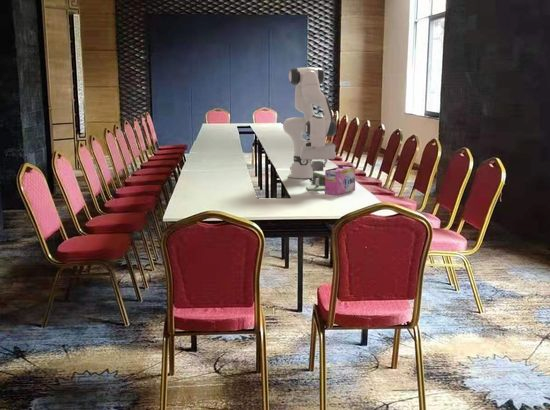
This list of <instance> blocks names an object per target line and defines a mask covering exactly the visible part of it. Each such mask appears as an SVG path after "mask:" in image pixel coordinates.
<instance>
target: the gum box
mask: <svg viewBox="0 0 550 410" xmlns="http://www.w3.org/2000/svg"><path fill="white" fill-rule="evenodd" d="M324 175H325V191H324V195H329V194H330V195H332V196H338V195H341V194H345V193H349V192H352V191H355V190H356V166H352V167H351V166H347V165H340V166H337V167H334V168H328V169H325V171H324ZM330 195H329V196H330Z"/></svg>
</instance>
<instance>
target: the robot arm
mask: <svg viewBox="0 0 550 410" xmlns="http://www.w3.org/2000/svg"><path fill="white" fill-rule="evenodd" d="M324 79H325V72H324V70H323V68H321V67H313V66H312V67H310V66H306V67H294V68H291V69H290V70H289V73H288V80H289V83H290V84H291V85H293V86H295V91H294V108H295V110H297V111H298V112H299V113H302V114H303V117H301V116H299V117H298V116H297V117H295V116H294V117H288V118H286V119H285V120H284V122H283V124H282V125H283V126H282V128H283V131H284V133H285V134H287V135H288V136H289V137H290V139H291V140H292V142H293V149H294V150H293V153H294V155H293V159H292V161H293V163H292V164H291V166H289V170H290V172H289V174H288V178H293V179H313V172H315V171H312V167H313V164H312V161H313V160H324V161H323V162H324V166H323V168H326V164H327V162H328V160H335V158H336V153H335V152H336V148H337V147H336V144H334V143H333V142H331V143H330V142H328V143H327V142H326V138H332V137H334V136H335V135H336V134H337V130H338V127H337V124H336V121H335V119H334V116H333V112H332V109H331V105H330V102H329V99H328V98H327V95H324V93H323V92H322V90H321V85H322V84H323V82H324ZM313 105H315V106H317V107H319V108H320V109H321V110H322V112H323V114H316V113H315V111H314V108H313ZM303 135H307V136H309V140H306V139H305V138H303Z"/></svg>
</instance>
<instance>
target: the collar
mask: <svg viewBox="0 0 550 410" xmlns="http://www.w3.org/2000/svg"><path fill="white" fill-rule="evenodd" d="M311 162H312V164H313V167H312V171H314V172H324V167H323V166H324V162H325V161H322V160H312V161H311Z"/></svg>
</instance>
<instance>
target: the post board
mask: <svg viewBox="0 0 550 410" xmlns="http://www.w3.org/2000/svg"><path fill="white" fill-rule="evenodd" d="M314 184H315V185H307V186H306V190H307V191H308V192H311V191H312V192H314V191H316V192H317V191H318V192H319V191H320V192H321V191H324V190H325V186H321V185H319V178H316V181H315V183H314ZM324 192H325V191H324Z"/></svg>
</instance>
